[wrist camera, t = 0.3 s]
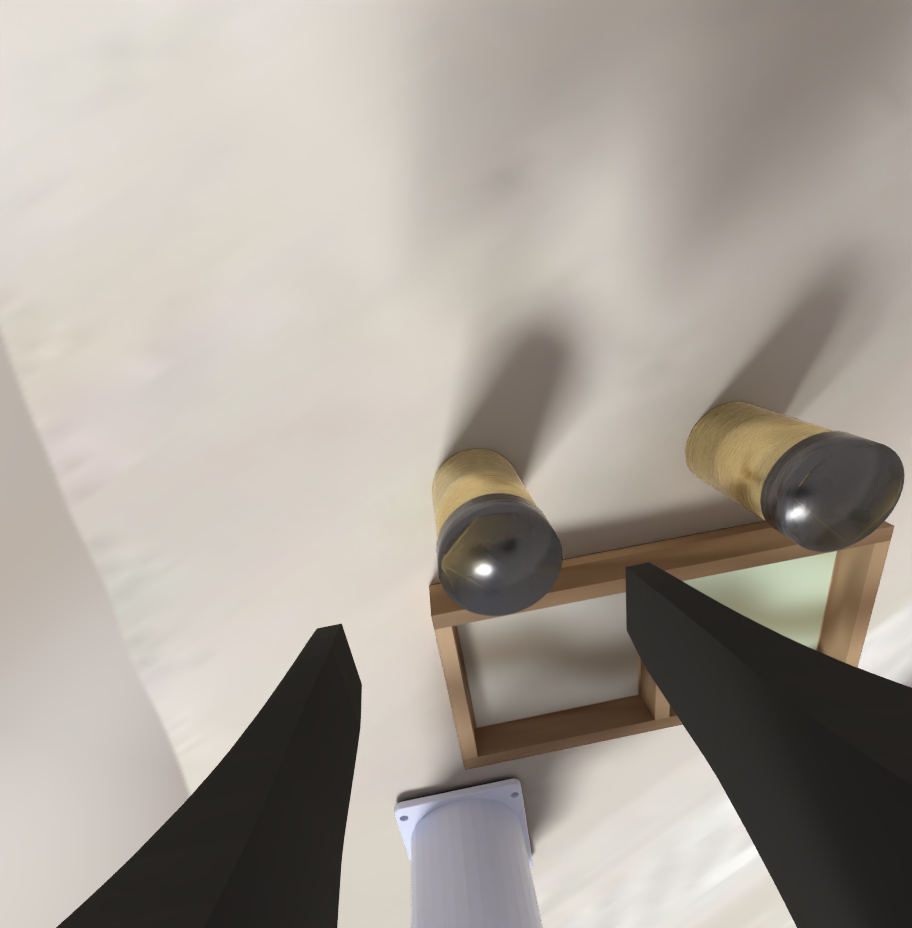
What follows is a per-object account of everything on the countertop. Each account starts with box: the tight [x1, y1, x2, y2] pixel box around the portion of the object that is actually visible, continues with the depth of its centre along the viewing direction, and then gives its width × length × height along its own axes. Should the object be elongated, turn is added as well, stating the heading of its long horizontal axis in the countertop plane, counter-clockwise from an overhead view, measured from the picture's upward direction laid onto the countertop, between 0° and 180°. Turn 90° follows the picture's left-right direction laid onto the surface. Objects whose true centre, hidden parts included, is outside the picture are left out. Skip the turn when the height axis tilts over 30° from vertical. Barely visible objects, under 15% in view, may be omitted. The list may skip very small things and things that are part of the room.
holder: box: [429, 521, 894, 770], centre depth 23 cm, size 11×22×2 cm, turn 99°
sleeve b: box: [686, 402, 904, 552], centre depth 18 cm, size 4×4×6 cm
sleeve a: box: [432, 449, 562, 616], centre depth 17 cm, size 4×4×6 cm
